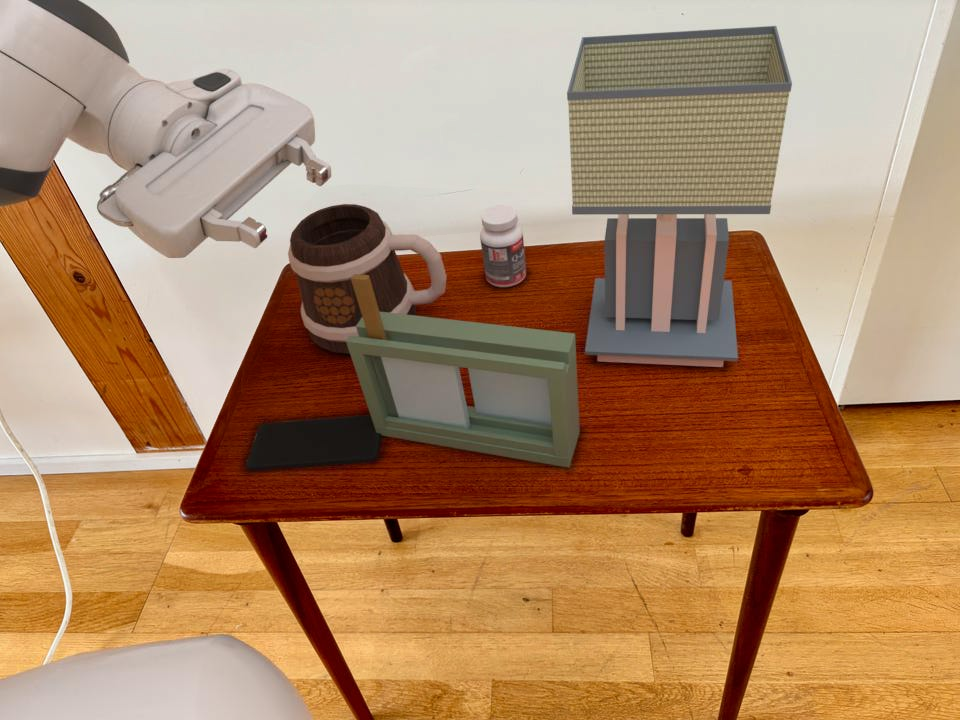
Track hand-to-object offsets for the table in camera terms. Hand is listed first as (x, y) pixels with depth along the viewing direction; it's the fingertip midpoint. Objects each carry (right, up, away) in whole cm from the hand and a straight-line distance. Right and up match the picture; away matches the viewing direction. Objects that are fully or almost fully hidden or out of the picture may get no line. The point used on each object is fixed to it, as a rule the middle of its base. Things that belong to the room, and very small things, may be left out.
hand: (295, 206), depth 63 cm
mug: (+3, -9, +32) cm, 33 cm away
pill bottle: (+20, -2, +36) cm, 41 cm away
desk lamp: (+38, -10, +23) cm, 46 cm away
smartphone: (-2, -23, +17) cm, 29 cm away
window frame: (+16, -22, +15) cm, 31 cm away
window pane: (+11, -21, +14) cm, 27 cm away
